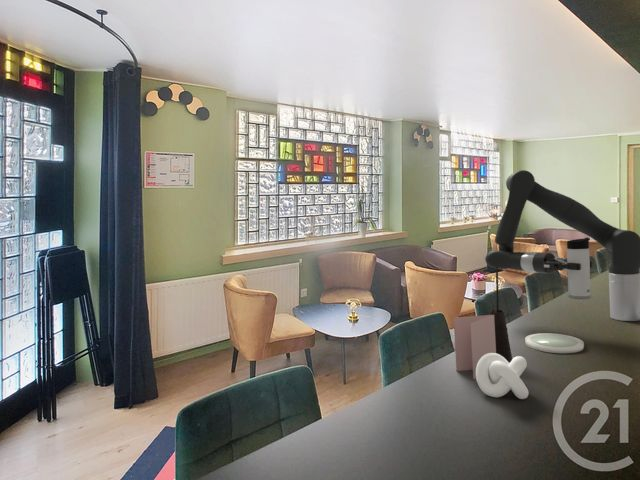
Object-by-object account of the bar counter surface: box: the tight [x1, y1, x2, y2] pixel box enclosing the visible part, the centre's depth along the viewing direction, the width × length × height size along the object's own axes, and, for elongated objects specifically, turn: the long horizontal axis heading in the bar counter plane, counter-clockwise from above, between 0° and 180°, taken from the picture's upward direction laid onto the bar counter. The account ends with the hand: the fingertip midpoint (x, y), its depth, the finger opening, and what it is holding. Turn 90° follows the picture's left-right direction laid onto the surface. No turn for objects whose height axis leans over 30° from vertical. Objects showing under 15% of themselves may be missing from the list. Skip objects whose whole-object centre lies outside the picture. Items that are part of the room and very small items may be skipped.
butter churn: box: [489, 266, 513, 363], centre depth 117 cm, size 9×10×28 cm
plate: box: [524, 332, 585, 354], centre depth 126 cm, size 16×16×2 cm
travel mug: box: [566, 237, 591, 300], centre depth 133 cm, size 6×7×20 cm
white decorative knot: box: [475, 353, 529, 400], centre depth 94 cm, size 11×12×9 cm
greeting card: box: [453, 314, 496, 380], centre depth 108 cm, size 11×7×15 cm, turn 92°
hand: (586, 265), depth 131 cm, fingers closed on travel mug, 6 cm apart
